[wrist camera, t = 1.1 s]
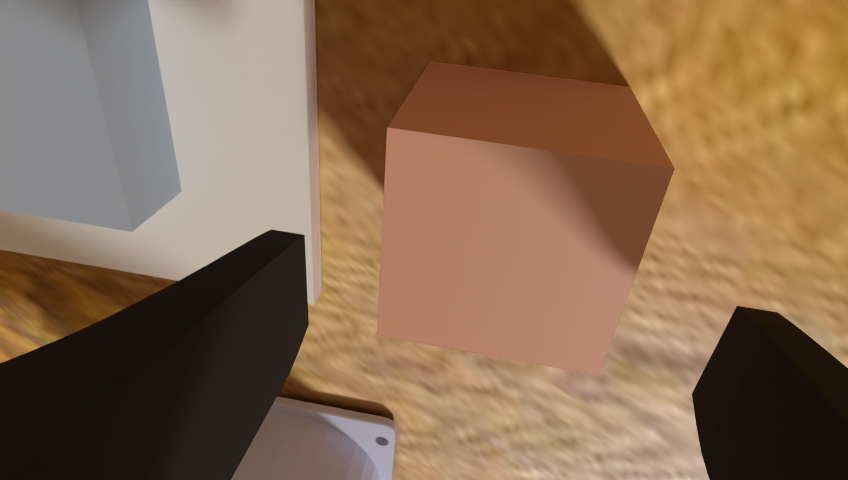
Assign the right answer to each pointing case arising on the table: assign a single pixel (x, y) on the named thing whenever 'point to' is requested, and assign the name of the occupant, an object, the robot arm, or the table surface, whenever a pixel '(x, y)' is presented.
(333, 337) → the table surface
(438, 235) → the top brick
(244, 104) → the board
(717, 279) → the table surface
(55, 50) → the base brick
